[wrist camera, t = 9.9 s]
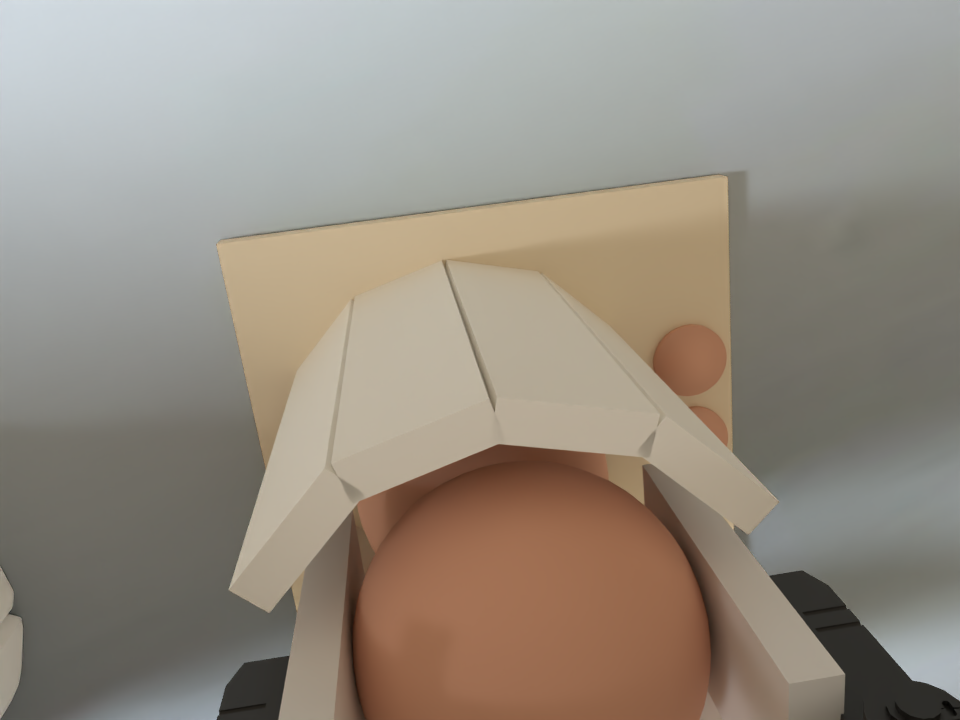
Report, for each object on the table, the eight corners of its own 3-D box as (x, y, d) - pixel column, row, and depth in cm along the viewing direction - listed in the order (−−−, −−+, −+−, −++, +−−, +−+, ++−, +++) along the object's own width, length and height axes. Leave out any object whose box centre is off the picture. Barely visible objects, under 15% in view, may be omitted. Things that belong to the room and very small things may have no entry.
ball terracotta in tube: (374, 547, 23) (379, 693, 18) (338, 346, 21) (331, 436, 16) (581, 511, 24) (650, 641, 18) (564, 312, 22) (636, 387, 16)
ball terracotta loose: (381, 689, 18) (381, 971, 12) (334, 434, 16) (306, 625, 10) (653, 643, 18) (776, 893, 12) (639, 389, 16) (776, 548, 11)
